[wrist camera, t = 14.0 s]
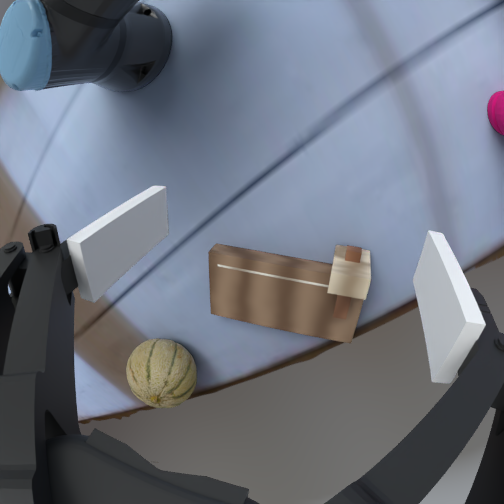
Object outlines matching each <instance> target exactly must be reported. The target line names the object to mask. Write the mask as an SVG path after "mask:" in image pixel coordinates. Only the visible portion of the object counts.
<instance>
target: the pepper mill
mask: <svg viewBox="0 0 504 504" xmlns="http://www.w3.org/2000/svg"><path fill="white" fill-rule="evenodd" d="M487 111H488V117H489V121H490V123H491V125H492V126H493V128H494V129H495V130H496V131H497V132H498V133H500V134H501V135H504V91H499V92H496V93H495V94H493V95H492V97H491V98H490V100H489V103H488V109H487Z"/></svg>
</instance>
